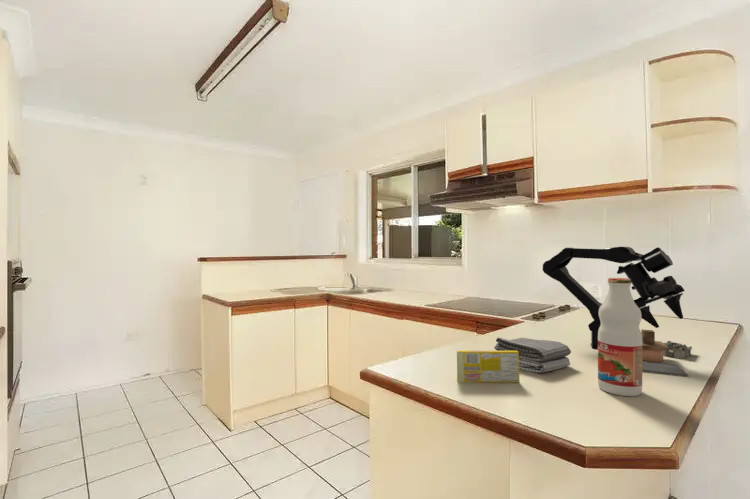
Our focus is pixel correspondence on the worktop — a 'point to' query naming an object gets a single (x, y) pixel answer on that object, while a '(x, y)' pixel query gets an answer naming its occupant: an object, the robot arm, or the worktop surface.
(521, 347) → the towel
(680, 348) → the egg carton
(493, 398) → the worktop surface
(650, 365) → the mat
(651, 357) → the peach rounded dome
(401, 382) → the worktop surface
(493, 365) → the candy box
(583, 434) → the worktop surface
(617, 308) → the fruit juice
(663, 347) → the lid
